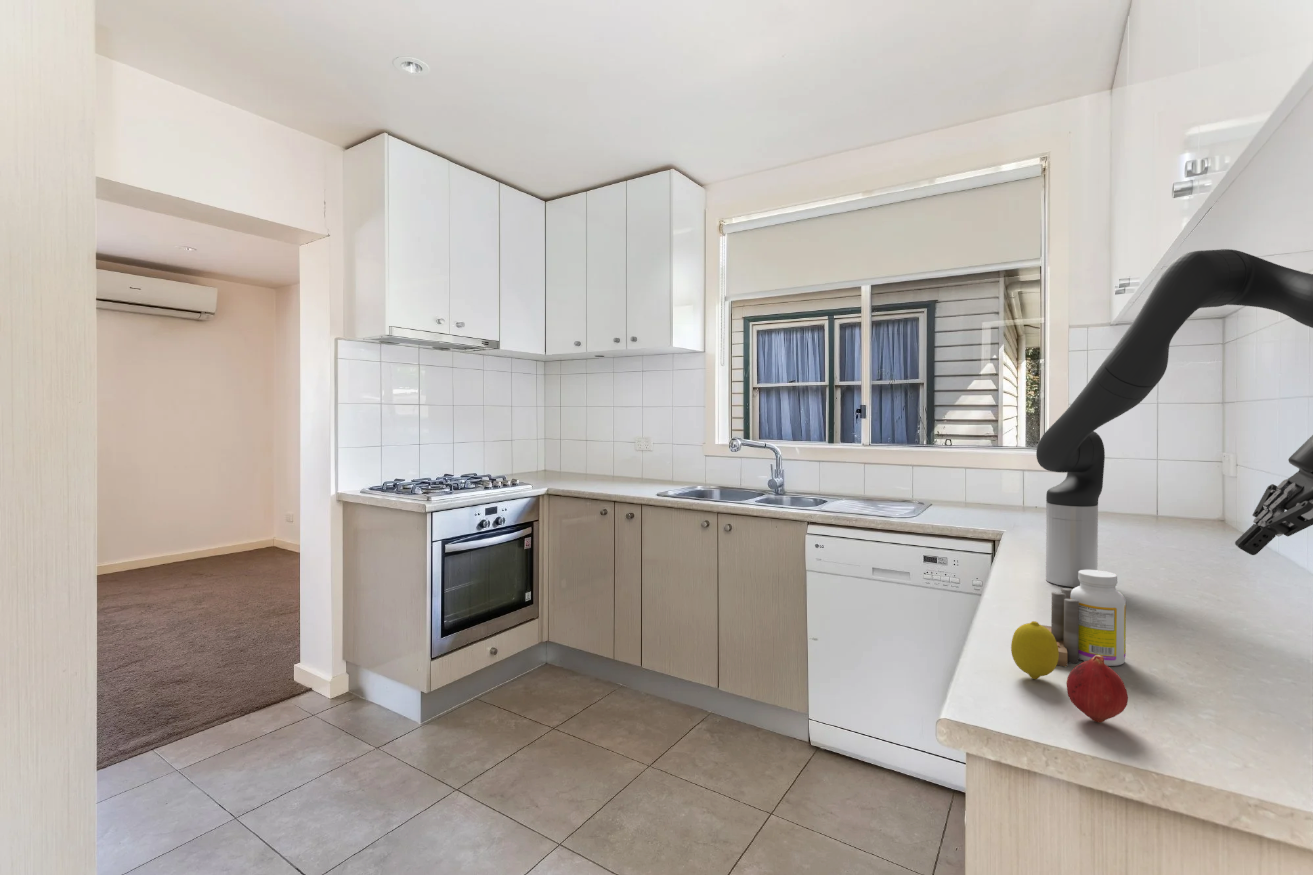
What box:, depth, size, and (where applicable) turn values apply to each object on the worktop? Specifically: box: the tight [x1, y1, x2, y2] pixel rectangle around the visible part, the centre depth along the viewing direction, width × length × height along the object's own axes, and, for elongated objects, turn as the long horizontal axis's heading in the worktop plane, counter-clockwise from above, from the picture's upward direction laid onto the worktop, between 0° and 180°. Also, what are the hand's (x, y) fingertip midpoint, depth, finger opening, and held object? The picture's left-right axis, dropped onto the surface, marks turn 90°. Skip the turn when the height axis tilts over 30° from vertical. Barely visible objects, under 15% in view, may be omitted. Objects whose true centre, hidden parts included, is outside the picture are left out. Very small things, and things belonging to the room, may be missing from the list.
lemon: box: [1010, 620, 1059, 680], centre depth 82 cm, size 6×6×8 cm
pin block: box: [1041, 587, 1079, 667], centre depth 92 cm, size 12×6×9 cm, turn 149°
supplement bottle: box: [1070, 569, 1127, 667], centre depth 89 cm, size 7×7×13 cm
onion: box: [1065, 655, 1129, 724], centre depth 71 cm, size 6×6×8 cm
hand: (1243, 550), depth 83 cm, fingers closed
